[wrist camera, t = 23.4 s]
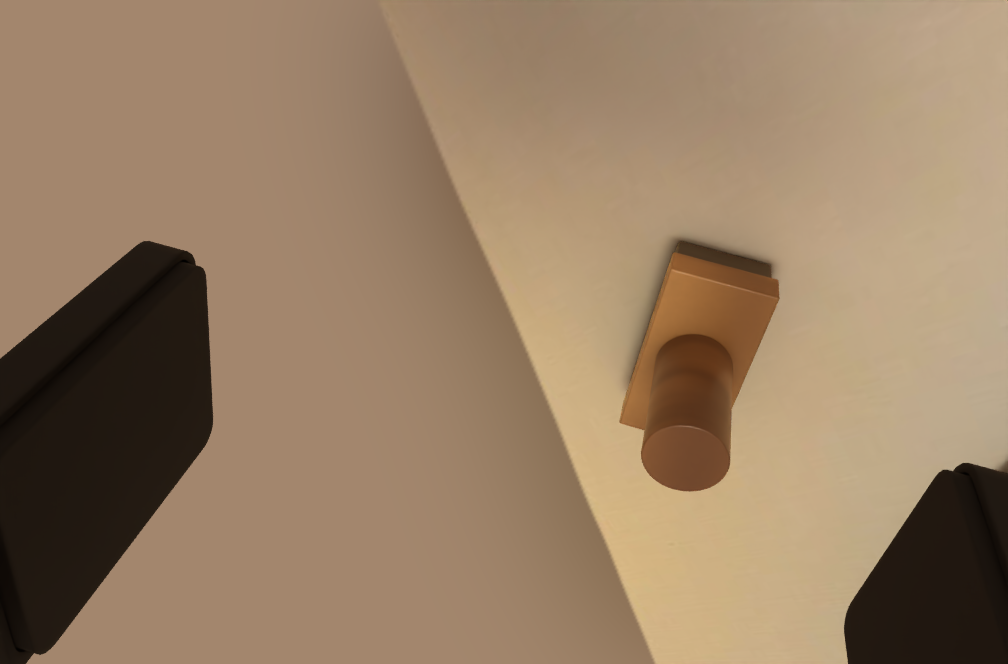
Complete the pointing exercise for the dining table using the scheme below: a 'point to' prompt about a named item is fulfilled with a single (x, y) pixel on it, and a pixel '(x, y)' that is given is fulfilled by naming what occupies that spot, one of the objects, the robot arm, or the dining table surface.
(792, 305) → the dining table surface
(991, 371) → the dining table surface
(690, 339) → the stamp
